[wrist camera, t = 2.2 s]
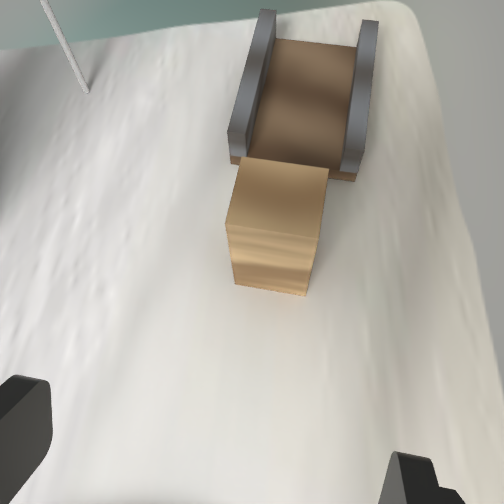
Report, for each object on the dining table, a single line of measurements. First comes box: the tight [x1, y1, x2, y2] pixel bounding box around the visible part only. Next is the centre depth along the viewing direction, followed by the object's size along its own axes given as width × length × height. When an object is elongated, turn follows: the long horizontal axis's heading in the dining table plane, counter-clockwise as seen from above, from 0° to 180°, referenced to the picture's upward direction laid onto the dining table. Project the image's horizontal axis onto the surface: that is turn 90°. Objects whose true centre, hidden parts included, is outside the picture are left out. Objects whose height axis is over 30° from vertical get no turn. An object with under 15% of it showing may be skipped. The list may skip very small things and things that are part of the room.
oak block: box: [225, 157, 329, 296], centre depth 26 cm, size 4×4×8 cm
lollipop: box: [40, 0, 90, 93], centre depth 30 cm, size 6×6×15 cm
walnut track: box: [227, 9, 379, 182], centre depth 33 cm, size 12×9×4 cm
